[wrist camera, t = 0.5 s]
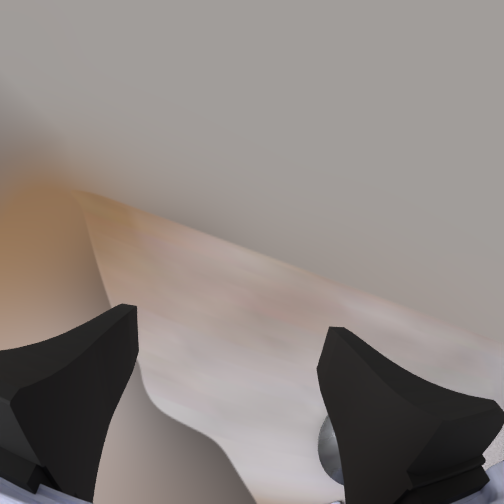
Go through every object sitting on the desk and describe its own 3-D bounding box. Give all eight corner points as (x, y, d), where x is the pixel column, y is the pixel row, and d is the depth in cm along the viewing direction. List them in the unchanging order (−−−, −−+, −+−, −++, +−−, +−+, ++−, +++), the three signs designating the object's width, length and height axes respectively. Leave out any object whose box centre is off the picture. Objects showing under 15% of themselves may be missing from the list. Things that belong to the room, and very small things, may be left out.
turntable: (437, 448, 28) (442, 452, 27) (338, 499, 28) (340, 505, 27) (407, 359, 32) (412, 360, 30) (299, 413, 32) (299, 417, 30)
